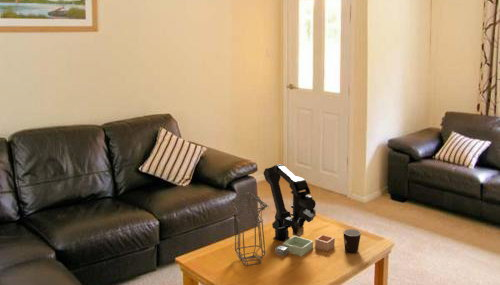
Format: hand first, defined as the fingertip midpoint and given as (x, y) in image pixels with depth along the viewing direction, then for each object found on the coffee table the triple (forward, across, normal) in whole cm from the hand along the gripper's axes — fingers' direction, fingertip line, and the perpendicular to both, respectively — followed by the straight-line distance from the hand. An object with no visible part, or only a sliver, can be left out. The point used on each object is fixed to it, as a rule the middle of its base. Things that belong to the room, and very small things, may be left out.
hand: (298, 232), depth 256 cm
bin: (+9, 0, 0) cm, 9 cm away
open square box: (+9, +10, -10) cm, 17 cm away
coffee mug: (+9, +16, -22) cm, 29 cm away
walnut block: (+1, 0, 0) cm, 1 cm away
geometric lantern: (+9, -24, +13) cm, 29 cm away
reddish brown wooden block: (+9, -9, +4) cm, 14 cm away
